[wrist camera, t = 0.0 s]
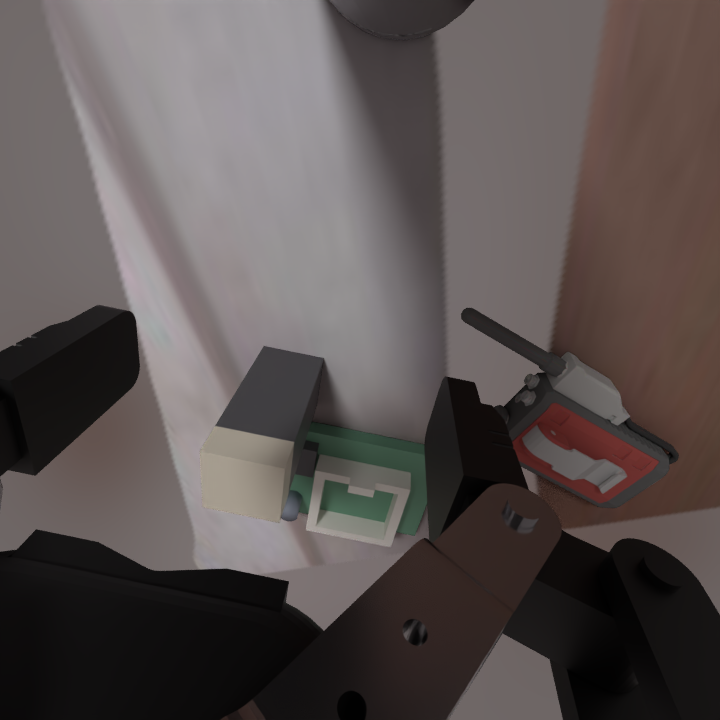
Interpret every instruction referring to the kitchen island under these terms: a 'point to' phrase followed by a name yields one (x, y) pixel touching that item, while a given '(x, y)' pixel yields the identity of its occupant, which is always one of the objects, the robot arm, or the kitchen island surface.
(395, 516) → the controller board
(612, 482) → the walkie-talkie
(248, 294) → the kitchen island surface
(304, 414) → the grey and cream block
